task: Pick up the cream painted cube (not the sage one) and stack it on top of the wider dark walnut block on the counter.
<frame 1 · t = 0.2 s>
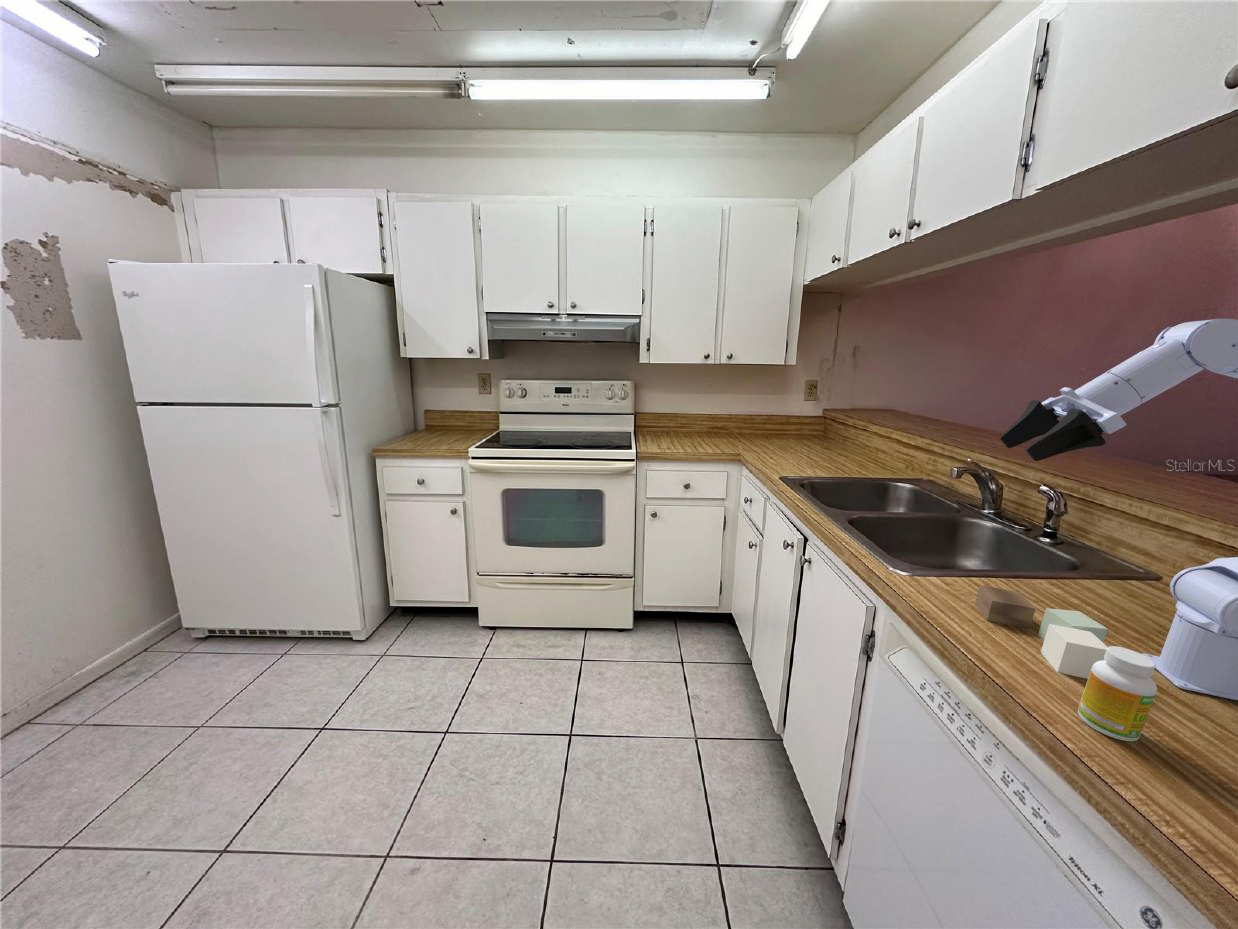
hand: (1016, 448, 68), 31 cm above the worktop, tool tilted 45°, fingers open, 7 cm apart
supplement bottle: (1106, 726, 57), on the worktop
walnut block: (1000, 617, 82), on the worktop
sage cube: (1067, 646, 74), on the worktop
cream cube: (1069, 667, 69), on the worktop
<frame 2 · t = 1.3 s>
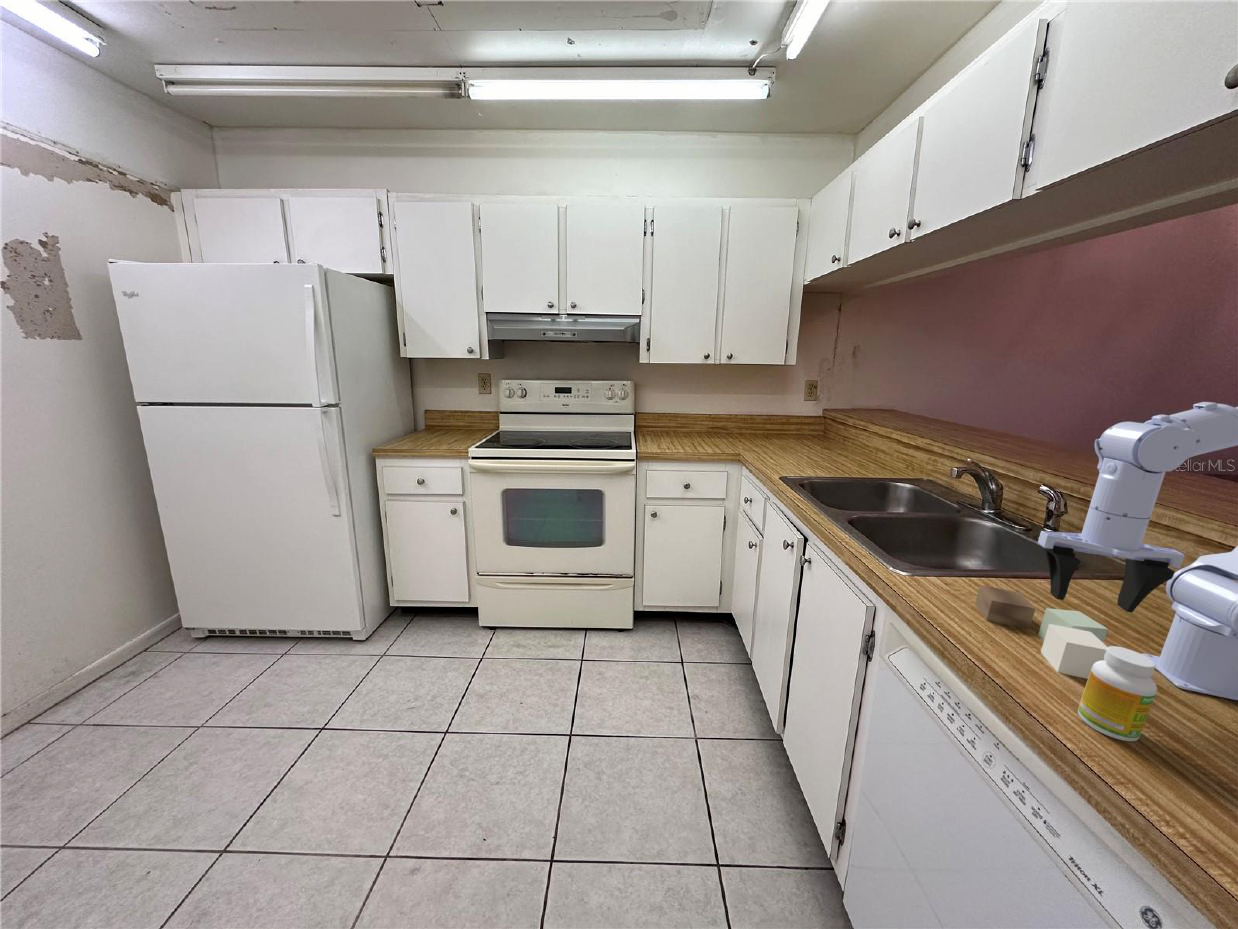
hand: (1090, 602, 66), 10 cm above the worktop, tool pointing down, fingers open, 7 cm apart
nothing on the worktop moved.
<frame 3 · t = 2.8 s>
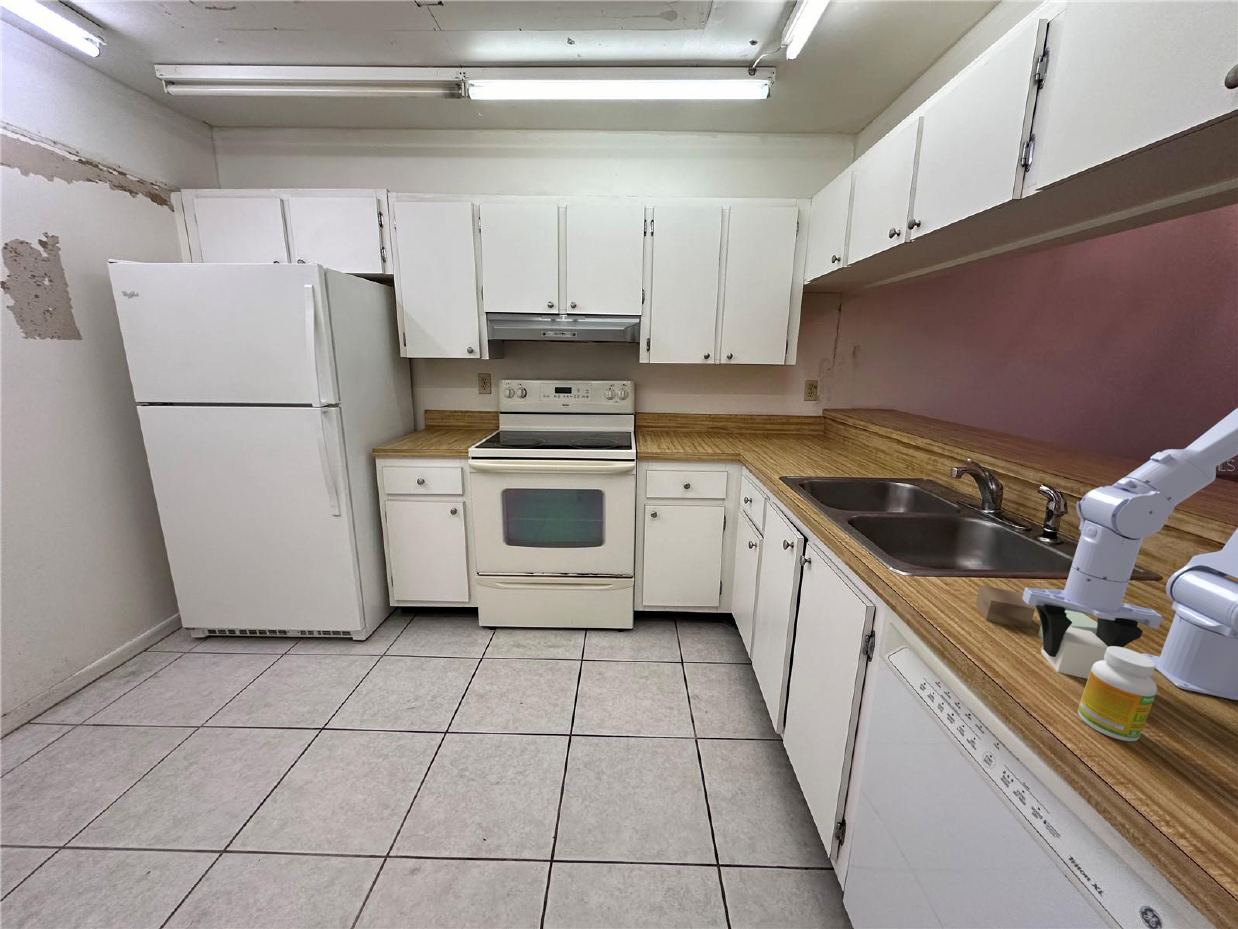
hand: (1072, 657, 68), 1 cm above the worktop, tool pointing down, fingers closed on cream cube, 5 cm apart
cream cube: (1069, 666, 69), on the worktop, touching gripper
everything else where it was.
when the fingers open (7 cm above the worktop, at t = 5.2 s): cream cube drops 2 cm, resting on walnut block.
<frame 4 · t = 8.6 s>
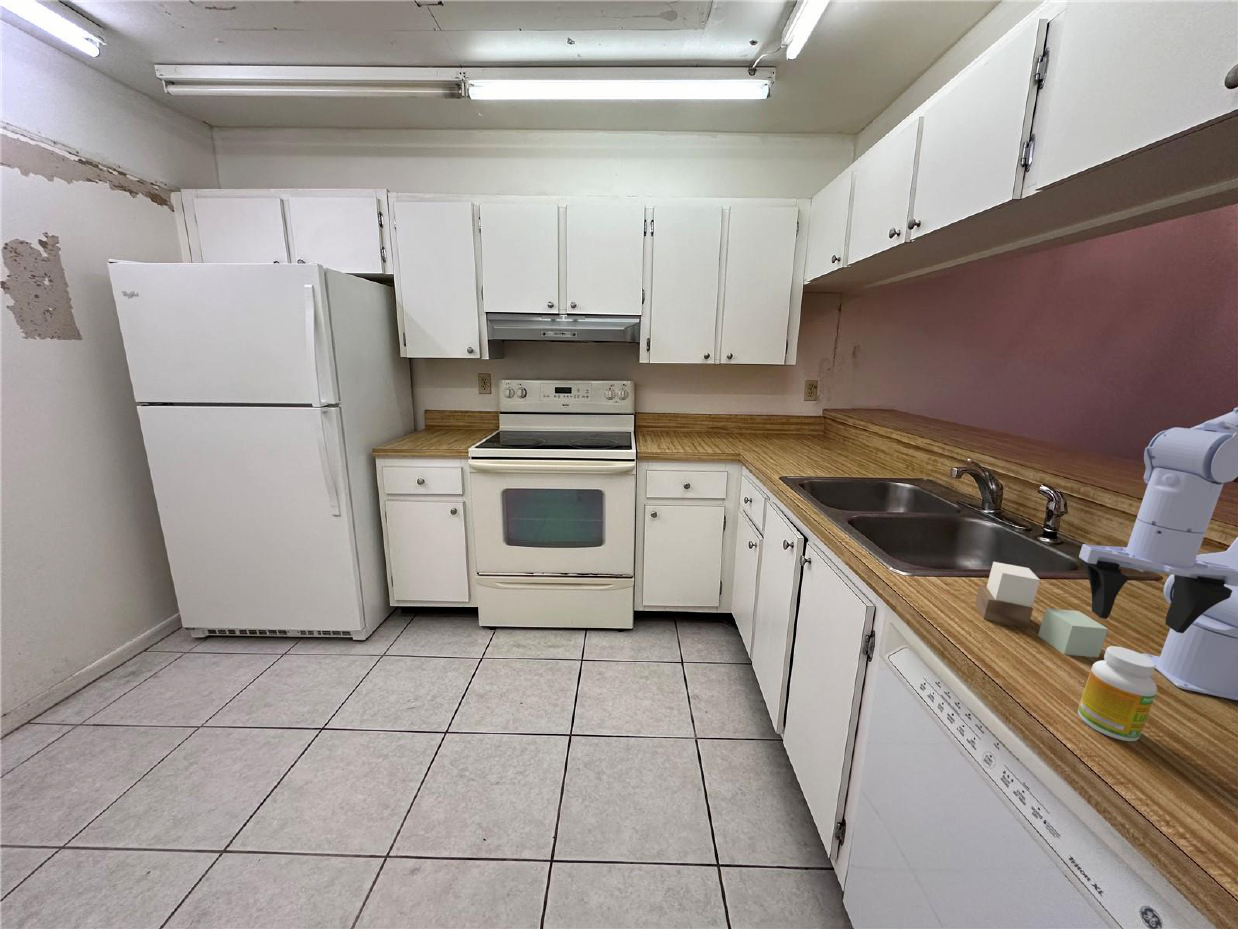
hand: (1135, 621, 62), 10 cm above the worktop, tool pointing down, fingers open, 7 cm apart
walnut block: (999, 616, 82), on the worktop, touching cream cube
cream cube: (1008, 597, 81), point 4 cm above the worktop, touching walnut block
everything else where it was.
at the end: cream cube 0.4 cm off-centre on the walnut block, point 4.0 cm above the walnut block's base; cream cube tilted 1°; the gripper is holding nothing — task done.
